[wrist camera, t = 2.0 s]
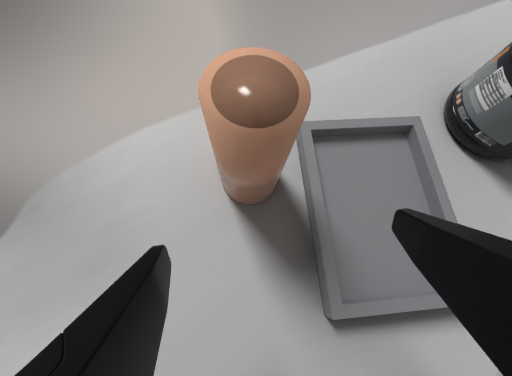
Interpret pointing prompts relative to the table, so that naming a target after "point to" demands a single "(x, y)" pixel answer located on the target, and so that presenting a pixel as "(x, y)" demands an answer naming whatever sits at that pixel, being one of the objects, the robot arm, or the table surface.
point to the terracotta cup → (252, 117)
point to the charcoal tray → (368, 211)
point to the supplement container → (484, 109)
